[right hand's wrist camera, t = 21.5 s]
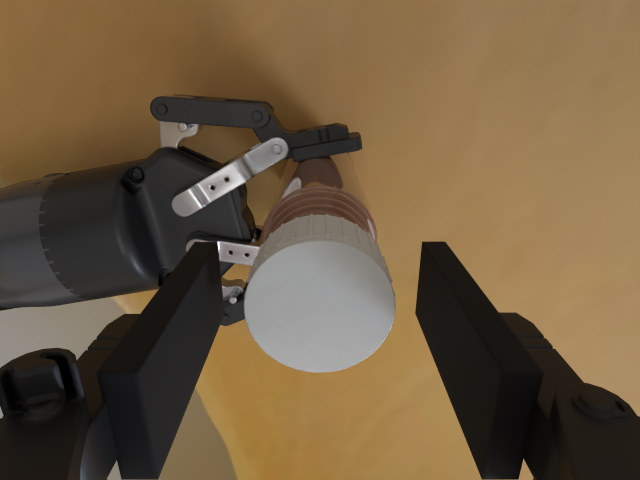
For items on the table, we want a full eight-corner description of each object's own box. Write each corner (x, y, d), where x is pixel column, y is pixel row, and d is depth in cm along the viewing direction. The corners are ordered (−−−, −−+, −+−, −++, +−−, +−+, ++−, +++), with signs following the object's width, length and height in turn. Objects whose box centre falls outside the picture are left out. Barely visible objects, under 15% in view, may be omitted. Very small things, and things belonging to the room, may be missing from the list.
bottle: (292, 207, 31) (259, 371, 14) (281, 143, 30) (225, 238, 12) (356, 197, 31) (403, 353, 14) (348, 132, 29) (389, 215, 12)
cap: (244, 318, 15) (231, 359, 13) (266, 199, 13) (255, 223, 11) (366, 341, 15) (373, 385, 13) (401, 228, 14) (416, 257, 12)
